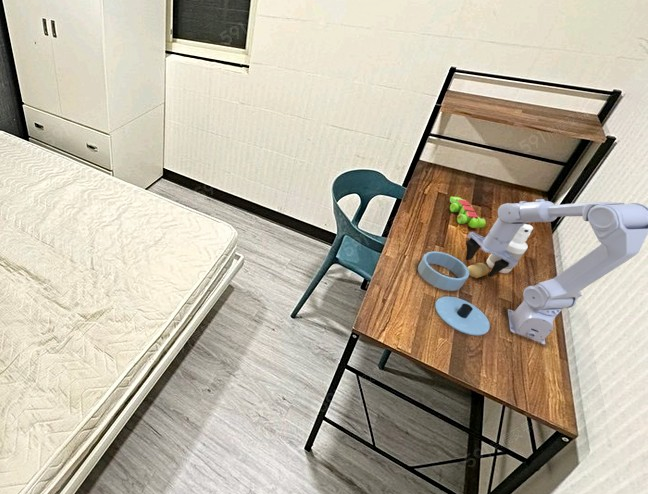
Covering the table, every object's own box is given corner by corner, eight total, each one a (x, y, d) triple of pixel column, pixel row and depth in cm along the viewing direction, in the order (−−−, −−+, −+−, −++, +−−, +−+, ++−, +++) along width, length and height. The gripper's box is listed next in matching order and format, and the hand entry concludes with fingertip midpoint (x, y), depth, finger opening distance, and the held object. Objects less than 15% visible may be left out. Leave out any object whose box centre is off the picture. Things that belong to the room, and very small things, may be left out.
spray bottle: (487, 269, 137) (515, 228, 127) (484, 256, 142) (511, 216, 132) (512, 276, 135) (542, 235, 125) (508, 263, 140) (537, 223, 130)
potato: (472, 281, 133) (478, 272, 131) (460, 272, 136) (466, 264, 134) (487, 276, 135) (493, 267, 133) (476, 267, 138) (481, 259, 136)
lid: (489, 345, 113) (497, 335, 111) (433, 322, 119) (439, 312, 117) (486, 311, 123) (494, 301, 120) (435, 292, 129) (441, 282, 126)
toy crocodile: (443, 201, 169) (450, 189, 166) (461, 204, 168) (468, 192, 165) (463, 232, 153) (471, 219, 150) (483, 235, 152) (491, 222, 149)
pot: (461, 297, 127) (469, 286, 124) (415, 280, 132) (422, 269, 129) (461, 272, 136) (468, 261, 133) (418, 257, 141) (425, 246, 138)
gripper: (468, 224, 130) (450, 255, 138) (515, 254, 119) (492, 286, 127) (484, 220, 132) (465, 250, 140) (531, 249, 121) (508, 280, 129)
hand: (479, 267), depth 133 cm, fingers open, 7 cm apart
